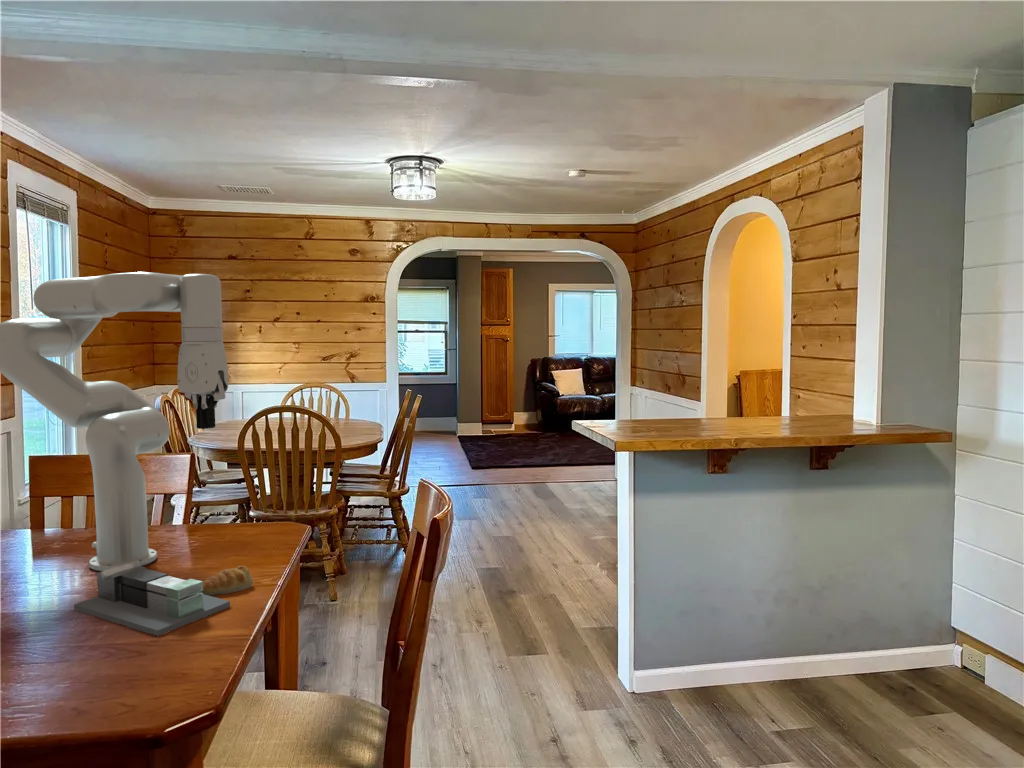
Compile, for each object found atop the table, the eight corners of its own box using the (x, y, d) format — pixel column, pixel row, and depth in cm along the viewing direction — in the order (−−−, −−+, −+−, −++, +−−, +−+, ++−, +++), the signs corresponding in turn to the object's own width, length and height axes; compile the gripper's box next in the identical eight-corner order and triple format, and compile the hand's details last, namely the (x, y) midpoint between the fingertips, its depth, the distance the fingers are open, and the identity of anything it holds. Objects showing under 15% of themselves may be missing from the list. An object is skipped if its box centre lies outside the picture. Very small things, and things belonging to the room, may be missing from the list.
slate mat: (74, 609, 127) (74, 604, 127) (148, 584, 139) (148, 579, 139) (157, 636, 116) (157, 630, 116) (230, 606, 128) (229, 601, 128)
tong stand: (97, 597, 130) (95, 568, 130) (131, 586, 136) (129, 558, 135) (174, 620, 119) (173, 588, 119) (207, 607, 125) (206, 577, 125)
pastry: (207, 601, 131) (206, 581, 131) (191, 592, 136) (190, 573, 135) (256, 587, 138) (255, 568, 138) (239, 579, 142) (239, 560, 142)
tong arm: (119, 583, 128) (118, 575, 128) (144, 575, 132) (144, 567, 132) (178, 599, 120) (177, 590, 120) (203, 590, 124) (202, 581, 124)
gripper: (161, 337, 145) (165, 428, 146) (211, 337, 137) (215, 433, 139) (194, 336, 151) (197, 423, 153) (243, 336, 144) (246, 428, 145)
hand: (206, 427), depth 146 cm, fingers closed
